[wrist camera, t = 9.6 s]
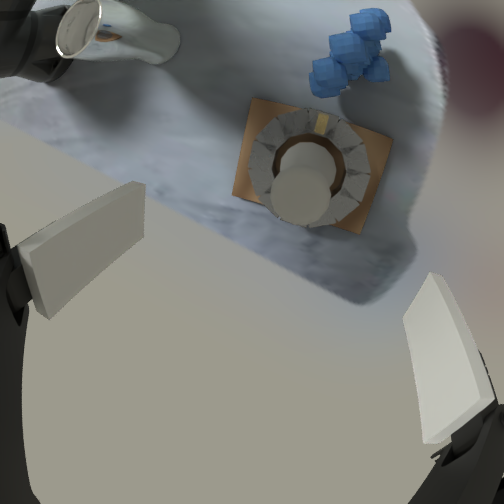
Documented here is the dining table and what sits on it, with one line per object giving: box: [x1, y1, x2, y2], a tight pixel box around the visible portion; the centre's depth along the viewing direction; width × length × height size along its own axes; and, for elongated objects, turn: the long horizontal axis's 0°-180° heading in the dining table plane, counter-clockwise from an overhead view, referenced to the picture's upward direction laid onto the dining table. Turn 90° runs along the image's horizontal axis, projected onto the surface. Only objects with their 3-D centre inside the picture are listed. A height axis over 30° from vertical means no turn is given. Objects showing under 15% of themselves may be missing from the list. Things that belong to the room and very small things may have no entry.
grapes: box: [309, 8, 391, 98], centre depth 19 cm, size 12×7×12 cm, turn 146°
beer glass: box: [55, 0, 180, 65], centre depth 21 cm, size 7×7×15 cm
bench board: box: [232, 97, 393, 235], centre depth 30 cm, size 16×12×1 cm
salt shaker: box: [270, 142, 337, 225], centre depth 24 cm, size 6×6×13 cm
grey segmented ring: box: [248, 108, 371, 228], centre depth 28 cm, size 12×12×3 cm
